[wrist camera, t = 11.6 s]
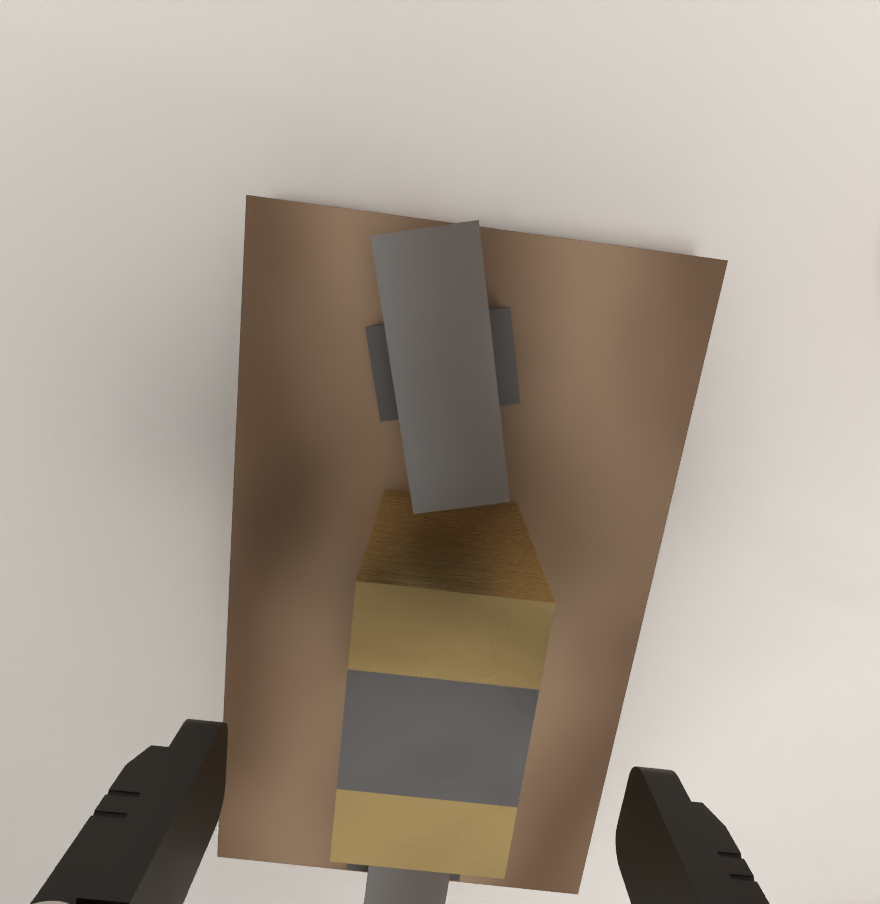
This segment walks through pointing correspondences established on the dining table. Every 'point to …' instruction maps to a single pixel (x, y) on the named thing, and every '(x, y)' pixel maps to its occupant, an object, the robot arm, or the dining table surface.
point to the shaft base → (348, 457)
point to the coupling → (440, 689)
